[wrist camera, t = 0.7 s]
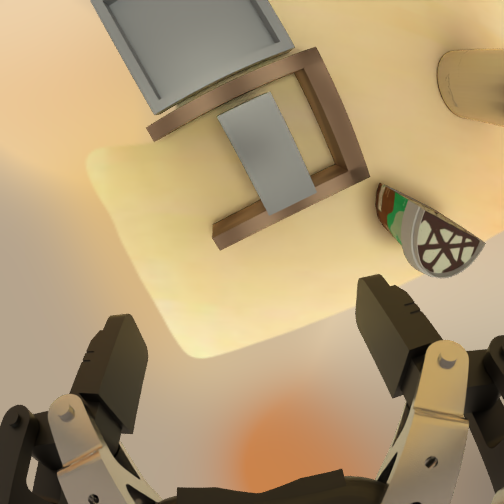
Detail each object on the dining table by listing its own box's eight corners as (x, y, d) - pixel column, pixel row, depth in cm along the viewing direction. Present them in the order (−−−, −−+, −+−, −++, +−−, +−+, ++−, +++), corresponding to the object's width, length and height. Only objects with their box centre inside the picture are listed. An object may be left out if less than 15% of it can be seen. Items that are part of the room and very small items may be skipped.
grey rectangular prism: (258, 95, 26) (270, 91, 20) (296, 174, 30) (317, 192, 24) (217, 115, 27) (216, 117, 20) (258, 192, 31) (269, 215, 24)
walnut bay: (305, 53, 24) (315, 46, 21) (355, 169, 30) (370, 176, 27) (154, 125, 26) (145, 127, 23) (219, 236, 32) (220, 250, 29)
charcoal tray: (221, -53, 17) (222, -64, 15) (288, 51, 24) (294, 47, 22) (99, 7, 19) (90, 0, 17) (159, 114, 26) (154, 114, 23)
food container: (348, 226, 33) (390, 269, 24) (369, 178, 31) (420, 207, 22) (419, 251, 36) (462, 291, 27) (438, 211, 34) (487, 244, 25)
